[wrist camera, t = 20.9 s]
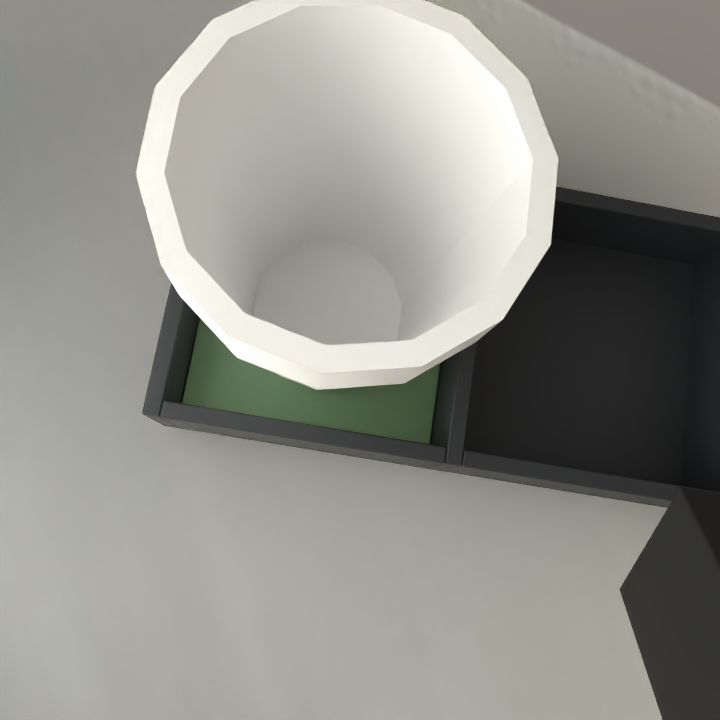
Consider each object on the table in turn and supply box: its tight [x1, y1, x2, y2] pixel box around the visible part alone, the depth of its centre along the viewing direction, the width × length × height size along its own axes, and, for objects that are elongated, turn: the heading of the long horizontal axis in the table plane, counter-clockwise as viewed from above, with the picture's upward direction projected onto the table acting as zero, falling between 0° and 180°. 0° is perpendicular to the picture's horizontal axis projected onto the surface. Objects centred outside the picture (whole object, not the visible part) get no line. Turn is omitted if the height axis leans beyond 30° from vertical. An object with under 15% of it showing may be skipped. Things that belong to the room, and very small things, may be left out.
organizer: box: [142, 187, 720, 508], centre depth 27 cm, size 22×11×4 cm, turn 81°
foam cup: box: [135, 0, 558, 390], centre depth 22 cm, size 10×9×13 cm
